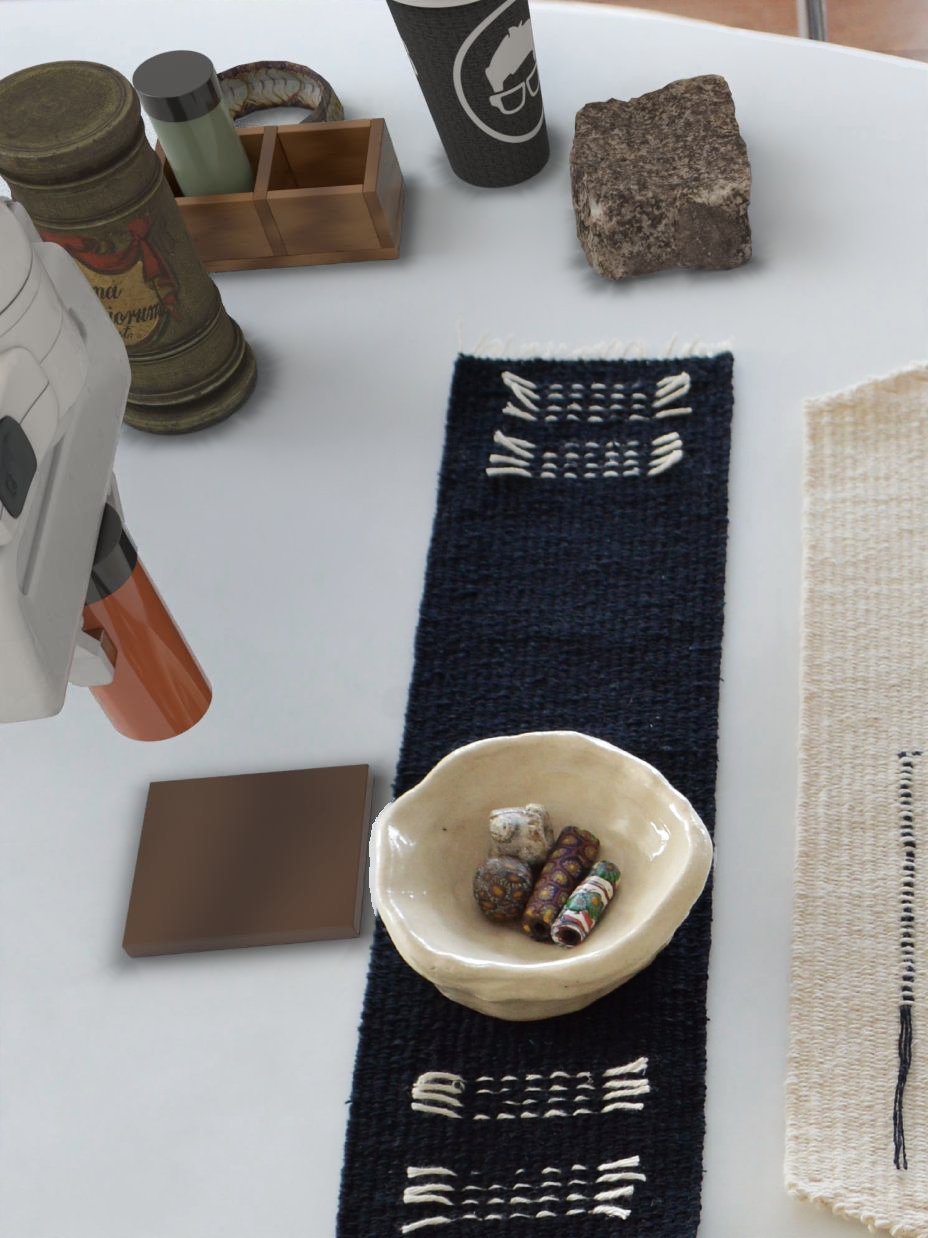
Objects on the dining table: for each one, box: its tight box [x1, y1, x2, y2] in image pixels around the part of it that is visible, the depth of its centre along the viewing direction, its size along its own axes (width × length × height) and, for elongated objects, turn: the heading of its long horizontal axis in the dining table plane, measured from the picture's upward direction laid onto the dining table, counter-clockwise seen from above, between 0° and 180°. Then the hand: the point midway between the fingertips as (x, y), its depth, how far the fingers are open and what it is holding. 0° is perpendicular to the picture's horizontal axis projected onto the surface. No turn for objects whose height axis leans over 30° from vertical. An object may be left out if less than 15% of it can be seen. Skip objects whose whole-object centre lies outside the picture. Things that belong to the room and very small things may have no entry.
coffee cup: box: [385, 0, 551, 188], centre depth 115 cm, size 10×10×15 cm
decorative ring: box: [217, 60, 345, 124], centre depth 121 cm, size 10×3×10 cm
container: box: [0, 59, 258, 436], centre depth 103 cm, size 9×9×18 cm
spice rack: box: [154, 117, 407, 274], centre depth 116 cm, size 14×7×5 cm, turn 96°
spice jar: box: [81, 503, 213, 743], centre depth 78 cm, size 5×5×10 cm
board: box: [121, 763, 375, 958], centre depth 92 cm, size 11×10×1 cm
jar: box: [131, 49, 256, 197], centre depth 113 cm, size 5×5×10 cm
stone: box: [568, 73, 753, 281], centre depth 116 cm, size 11×13×6 cm
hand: (108, 620), depth 77 cm, fingers closed on spice jar, 4 cm apart
